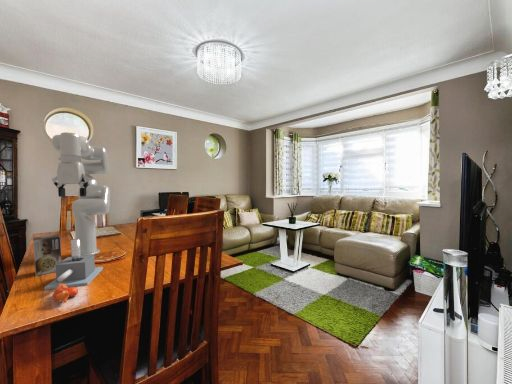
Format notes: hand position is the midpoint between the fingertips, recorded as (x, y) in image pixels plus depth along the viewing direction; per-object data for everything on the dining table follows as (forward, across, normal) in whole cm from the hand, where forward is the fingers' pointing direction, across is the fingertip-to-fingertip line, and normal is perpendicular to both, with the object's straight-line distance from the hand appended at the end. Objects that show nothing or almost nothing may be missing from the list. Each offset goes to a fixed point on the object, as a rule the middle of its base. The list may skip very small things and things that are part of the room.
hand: (72, 196), depth 108 cm
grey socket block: (+34, +10, -14) cm, 38 cm away
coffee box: (+34, -9, -4) cm, 36 cm away
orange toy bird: (+35, +18, -29) cm, 49 cm away
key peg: (+30, +9, -12) cm, 33 cm away
